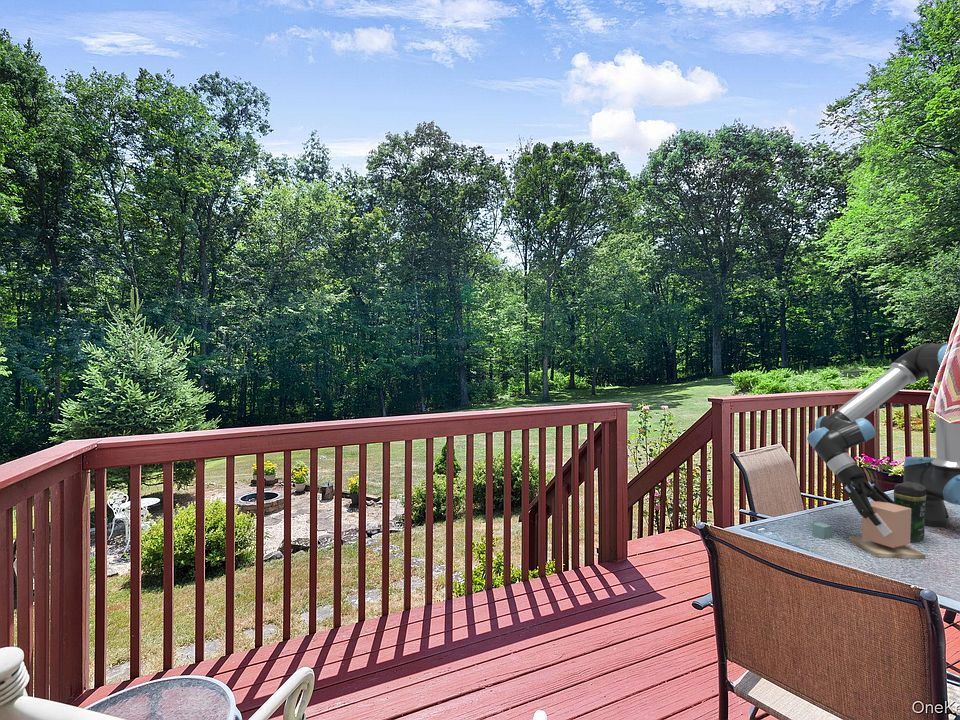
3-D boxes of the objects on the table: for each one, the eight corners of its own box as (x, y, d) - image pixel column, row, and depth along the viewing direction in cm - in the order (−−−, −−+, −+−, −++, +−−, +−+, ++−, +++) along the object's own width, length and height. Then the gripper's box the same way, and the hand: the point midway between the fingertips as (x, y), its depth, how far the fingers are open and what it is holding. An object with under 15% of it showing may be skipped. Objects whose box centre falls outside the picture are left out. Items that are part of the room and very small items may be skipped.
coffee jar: (917, 544, 176) (919, 487, 175) (888, 537, 183) (890, 482, 182) (928, 538, 182) (930, 483, 181) (899, 531, 188) (901, 478, 187)
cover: (878, 533, 178) (879, 500, 178) (910, 543, 170) (911, 508, 170) (861, 538, 174) (863, 504, 174) (893, 548, 166) (894, 512, 166)
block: (819, 533, 186) (820, 522, 186) (831, 537, 182) (831, 525, 182) (812, 535, 184) (812, 523, 184) (823, 539, 181) (824, 527, 181)
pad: (894, 541, 179) (894, 538, 179) (925, 558, 165) (925, 554, 165) (848, 540, 180) (849, 536, 180) (876, 557, 166) (876, 553, 166)
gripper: (857, 472, 190) (907, 532, 176) (817, 479, 181) (867, 543, 167) (874, 460, 185) (927, 521, 171) (833, 466, 176) (886, 531, 162)
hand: (897, 532), depth 169 cm, fingers closed on cover, 9 cm apart
